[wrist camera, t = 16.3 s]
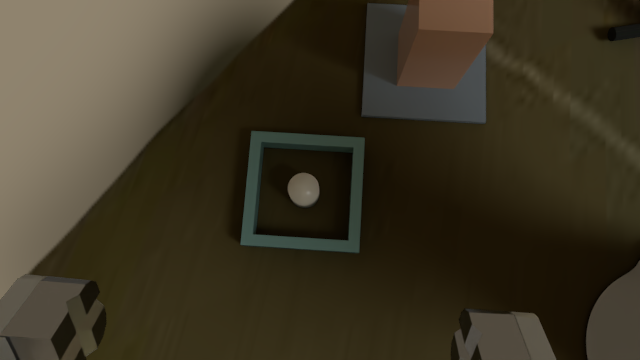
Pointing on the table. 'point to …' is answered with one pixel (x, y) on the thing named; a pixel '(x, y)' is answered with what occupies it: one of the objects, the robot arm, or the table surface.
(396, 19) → the rubber mat
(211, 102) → the table surface
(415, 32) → the brown tall block
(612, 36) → the handheld radio
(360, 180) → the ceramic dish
